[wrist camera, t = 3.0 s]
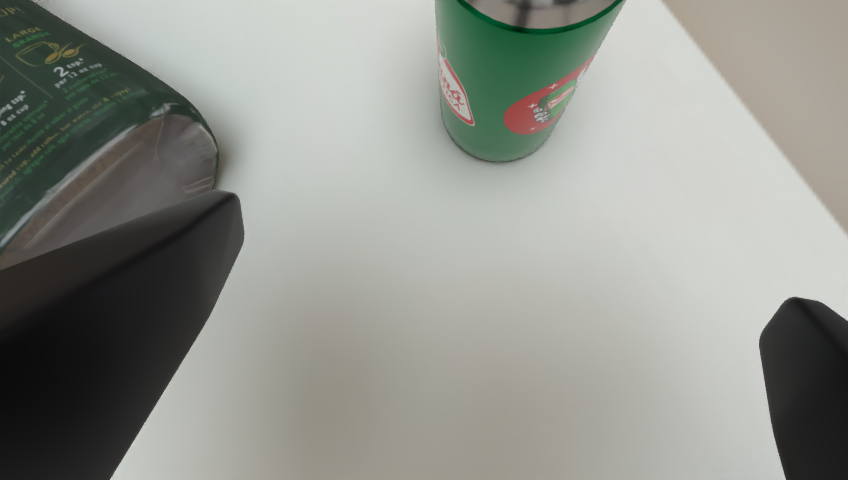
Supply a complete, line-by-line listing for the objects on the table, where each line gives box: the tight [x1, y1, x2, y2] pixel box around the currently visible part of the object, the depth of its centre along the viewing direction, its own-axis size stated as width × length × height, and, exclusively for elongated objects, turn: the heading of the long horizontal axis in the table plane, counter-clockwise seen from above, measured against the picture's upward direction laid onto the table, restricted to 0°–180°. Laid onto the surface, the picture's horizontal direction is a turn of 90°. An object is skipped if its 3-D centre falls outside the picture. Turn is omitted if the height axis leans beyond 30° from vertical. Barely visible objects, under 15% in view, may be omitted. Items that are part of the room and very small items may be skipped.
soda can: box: [435, 0, 626, 162], centre depth 17 cm, size 5×5×12 cm
